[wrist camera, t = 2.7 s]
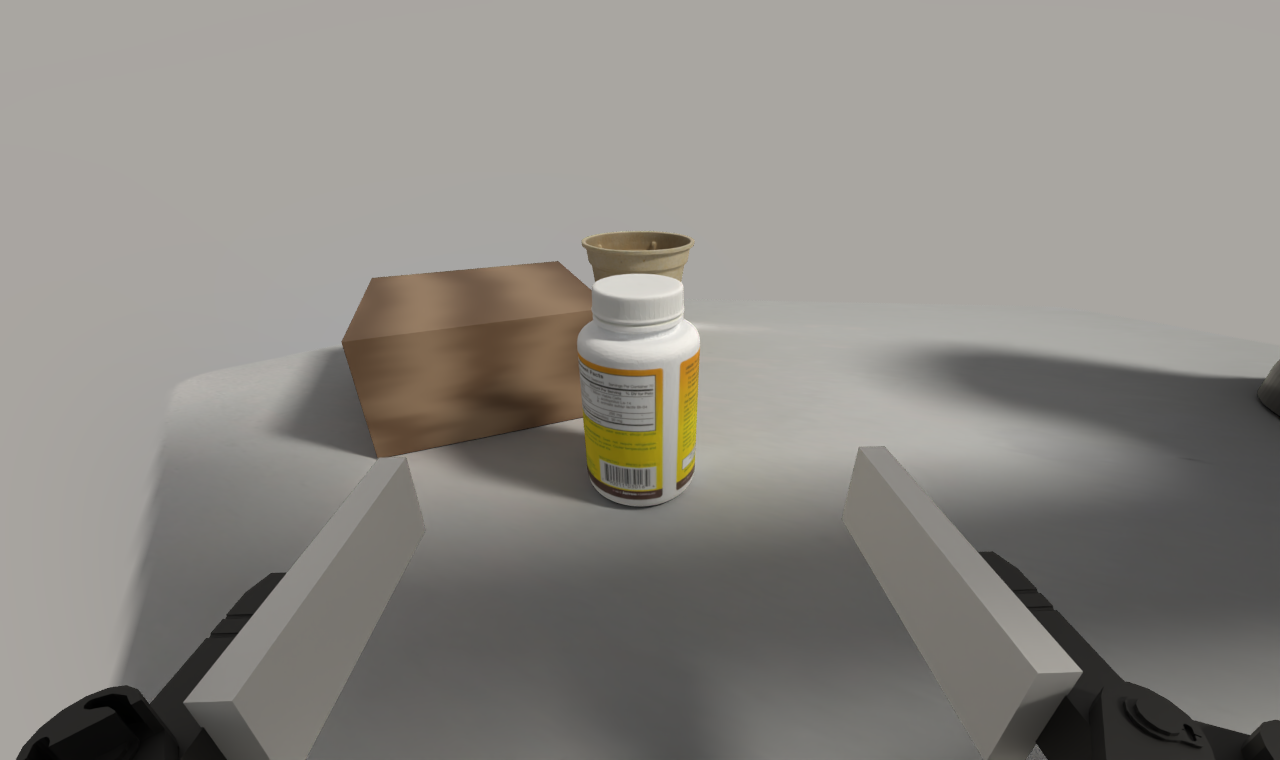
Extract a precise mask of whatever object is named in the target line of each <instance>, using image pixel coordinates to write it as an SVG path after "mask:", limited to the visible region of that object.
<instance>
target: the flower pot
mask: <svg viewBox="0 0 1280 760" xmlns="http://www.w3.org/2000/svg"><path fill="white" fill-rule="evenodd" d="M582 246H583V247H584V248H586V250H587V254H588V260H589V262H590V264H591V265H592V267H593V272H594V278H595V282H596V281H598V280H600V279H603V278H606V277H610V276H615V275H623V274H655V275H662V276H667V277H671V278H674V279H677V280H678V281H680V282H681V279H682V274H683V268H684V265H685V264H686V262H687V260H688V254H689V249H690V248H692V247H693V246H694V239H692V238H691V237H688V236H685V235H680V234H675V233H666V232H655V231H625V232H611V233H602V234H596V235H592V236H589V237H586V238H584V239H583V240H582Z"/></svg>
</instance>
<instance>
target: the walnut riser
mask: <svg viewBox="0 0 1280 760" xmlns="http://www.w3.org/2000/svg"><path fill="white" fill-rule="evenodd" d="M591 308H592V290H591V289H589V288H588V287H587V286H586V285H585V284H583V283H582V282H581V281H580V280H579V279H578V278H577V277H576V276H574V275H573V274H572V273H571V272H570V271H569V270H567V269H566V268H565V267H564V266H563V265H562V264H561V263H560V262H558V261H556V262H544V263H533V264H522V265H511V266H500V267H489V268H478V269H468V270H456V271H445V272H434V273H423V274H412V275H401V276H389V277H378V278H372V279H371V281H370V283H369V286H368V288H367V290H366V292H365V294H364V296H363V298H362V300H361V302H360V305H359V306H358V308H357V311H356V313H355V315H354V317H353V319H352V321H351V323H350V325H349V328H348V330H347V331H346V334H345V336H344V338H343V340H342V345H343V349H344V352H345V355H346V358H347V361H348V365H349V368H350V371H351V374H352V377H353V381H354V384H355V387H356V390H357V393H358V397H359V400H360V403H361V406H362V409H363V413H364V416H365V419H366V422H367V425H368V429H369V432H370V435H371V438H372V441H373V445H374V448H375V451H376V454H377V457H378V458H385V457H390V456H395V455H400V454H405V453H410V452H414V451H419V450H424V449H429V448H434V447H439V446H444V445H449V444H454V443H459V442H463V441H468V440H473V439H478V438H483V437H488V436H493V435H498V434H503V433H507V432H512V431H517V430H522V429H527V428H532V427H537V426H542V425H547V424H551V423H556V422H561V421H566V420H571V419H576V418H581V417H583V409H582V396H581V384H580V373H579V361H578V351H577V339H578V335H579V333H580V331H581V330H582V328H583V327H584V326H585V325H587V324H588V323H589V322H591V321H593V313H592V310H591Z"/></svg>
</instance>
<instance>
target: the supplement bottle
mask: <svg viewBox="0 0 1280 760" xmlns="http://www.w3.org/2000/svg"><path fill="white" fill-rule="evenodd" d="M591 310H592V313H593V321H591V322H589V323H588V324H587V325H585V326H584V327H583V328H582V330H581V331H580V333H579V335H578V339H577V351H578V361H579V373H580V384H581V396H582V409H583V421H584V431H585V444H586V457H587V469H588V474H589V478H590V481H591V483H592V484H593V486H594V487H595V489H596V490H597V491H598V492H599V493H600V494H602V495H603V496H604V497H606V498H608V499H610V500H612V501H614V502H617V503H620V504H624V505H629V506H652V505H657V504H661V503H664V502H667V501H669V500H671V499H673V498H675V497H677V496H678V495H680V494H681V493H682V492H683V491H684V490H685V489H686V488H687V487H688V485H689V484H690V482H691V480H692V478H693V475H694V469H695V450H696V448H695V446H696V422H697V397H698V375H699V355H700V337H699V333H698V331H697V329H696V328H695V327H694V326H693V325H692V324H691V323H690V322H689V321H687V320H685V319H683V312H684V305H683V284H682V283H681V282H680V281H678V280H677V279H674V278H671V277H667V276H662V275H655V274H623V275H615V276H610V277H606V278H603V279H600V280H598V281H596V282H595V283H594V284H593V285H592V308H591Z"/></svg>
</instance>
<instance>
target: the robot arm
mask: <svg viewBox="0 0 1280 760" xmlns="http://www.w3.org/2000/svg"><path fill="white" fill-rule="evenodd" d="M1258 397H1259V399H1260V400H1261V401H1262V402H1263V404H1264V405H1266V406H1267V407H1268V408H1269V409H1270V410H1272V411H1273V412H1275V413H1276V414H1278V415H1279V416H1280V360H1279V361H1278V362H1277V363H1276V364H1275V365H1274V366H1273V368H1272V369H1271V371H1270V373H1269V374H1268V376H1267V377H1266V379H1265V380H1264V382H1263V383H1262V385H1261V386H1260V388H1259V389H1258ZM842 521H843V522H844V524H845V526H846V527H847V529H848V531H849V532H850V534H851V536H852V538H853V539H854V541H855V543H856V544H857V546H858V548H859V549H860V551H861V553H862V554H863V556H864V558H865V560H866V561H867V563H868V565H869V566H870V568H871V570H872V571H873V573H874V575H875V577H876V578H877V580H878V582H879V583H880V585H881V587H882V588H883V590H884V592H885V594H886V595H887V597H888V599H889V600H890V602H891V604H892V605H893V607H894V609H895V610H896V612H897V614H898V616H899V617H900V619H901V621H902V622H903V624H904V626H905V627H906V629H907V631H908V633H909V634H910V636H911V638H912V639H913V641H914V643H915V644H916V646H917V648H918V649H919V651H920V653H921V655H922V656H923V658H924V660H925V661H926V663H927V665H928V666H929V668H930V670H931V672H932V673H933V675H934V677H935V678H936V680H937V682H938V683H939V685H940V687H941V688H942V690H943V692H944V694H945V695H946V697H947V699H948V700H949V702H950V704H951V705H952V707H953V709H954V711H955V712H956V714H957V716H958V717H959V719H960V721H961V722H962V724H963V726H964V727H965V729H966V731H967V733H968V734H969V736H970V738H971V739H972V741H973V743H974V744H975V746H976V748H977V750H978V751H979V753H980V755H981V756H982V758H983V760H1026V758H1027V757H1028V755H1029V754H1030V752H1031V751H1032V749H1033V748H1034V746H1035V745H1036V743H1037V745H1038V746H1039V748H1040V749H1041V751H1042V752H1043V754H1044V755H1045V756H1046V758H1047V759H1048V760H1280V721H1279V720H1272V721H1268V722H1263V723H1262V724H1261V725H1260V726H1259V727H1258V728H1257V729H1256V730H1255V731H1254V732H1253V733H1252V734H1251V735H1247V734H1243V733H1239V732H1236V731H1232V730H1228V729H1224V728H1220V727H1217V726H1213V725H1209V724H1205V723H1201V722H1198V721H1194V720H1192V719H1191V718H1190V717H1189V716H1188V715H1187V714H1186V713H1184V712H1183V711H1182V710H1181V709H1179V708H1178V707H1177V706H1175V705H1174V704H1173V703H1172V702H1170V701H1169V700H1167V699H1166V698H1164V697H1162V696H1160V695H1158V694H1157V693H1155V692H1153V691H1151V690H1150V689H1147V688H1144V687H1142V686H1139V685H1136V684H1133V683H1130V682H1125V681H1124V680H1123V679H1122V678H1121V677H1119V676H1118V675H1117V674H1116V673H1115V671H1114V670H1113V669H1112V668H1111V667H1110V666H1109V665H1108V664H1107V663H1106V662H1105V661H1104V660H1103V659H1102V658H1101V657H1100V656H1099V654H1098V653H1097V652H1096V651H1095V650H1094V649H1093V648H1092V647H1091V646H1090V645H1089V644H1088V643H1087V642H1086V641H1085V640H1084V639H1083V637H1082V636H1081V635H1080V634H1079V633H1078V632H1077V631H1076V630H1075V629H1074V628H1073V627H1072V626H1071V625H1070V624H1069V623H1068V622H1067V620H1066V619H1065V618H1064V617H1063V616H1062V615H1061V614H1060V613H1059V612H1058V611H1057V610H1054V609H1053V606H1052V605H1051V603H1050V602H1049V601H1048V600H1047V599H1046V598H1045V597H1044V596H1043V595H1042V594H1041V593H1038V592H1037V589H1036V588H1035V586H1034V585H1033V584H1032V583H1031V582H1030V581H1029V580H1028V579H1027V578H1026V577H1025V576H1024V575H1023V574H1022V573H1021V572H1020V571H1019V569H1017V568H1016V567H1014V566H1013V565H1012V564H1010V563H1009V562H1007V561H1006V560H1004V559H1003V558H1001V557H1000V556H999V555H997V554H996V553H994V552H977V551H976V550H975V548H974V547H973V546H972V545H971V544H970V543H969V542H968V541H967V539H966V538H965V537H964V536H963V535H962V534H961V533H960V531H959V530H958V529H957V528H956V527H955V526H954V525H953V524H952V522H951V521H950V520H949V519H948V518H947V517H946V516H945V514H944V513H943V512H942V511H941V510H940V509H939V508H938V506H937V505H936V504H935V503H934V502H933V501H932V500H931V499H930V497H929V496H928V495H927V494H926V493H925V492H924V491H923V489H922V488H921V487H920V486H919V485H918V484H917V483H916V481H915V480H914V479H913V478H912V477H911V476H910V475H909V474H908V472H907V471H906V470H905V469H904V468H903V467H902V466H901V464H900V463H899V462H898V461H897V460H896V459H895V458H894V456H893V455H892V454H891V453H890V452H889V451H888V450H887V449H886V447H885V446H878V447H859V448H858V452H857V457H856V461H855V465H854V469H853V474H852V478H851V482H850V486H849V490H848V495H847V499H846V503H845V507H844V511H843V516H842ZM425 531H426V528H425V524H424V521H423V517H422V513H421V510H420V506H419V502H418V499H417V495H416V491H415V488H414V484H413V480H412V477H411V473H410V469H409V466H408V462H407V458H406V457H385V458H378V460H377V461H376V462H375V463H374V465H373V466H372V467H371V468H370V470H369V471H368V472H367V473H366V475H365V476H364V477H363V478H362V480H361V481H360V482H359V483H358V485H357V486H356V487H355V488H354V490H353V491H352V492H351V493H350V495H349V496H348V497H347V498H346V500H345V501H344V502H343V503H342V505H341V506H340V507H339V508H338V510H337V511H336V512H335V513H334V515H333V516H332V517H331V518H330V520H329V521H328V522H327V523H326V525H325V526H324V527H323V528H322V530H321V531H320V532H319V533H318V535H317V536H316V537H315V538H314V540H313V541H312V542H311V543H310V545H309V546H308V547H307V548H306V550H305V551H304V552H303V553H302V555H301V556H300V557H299V558H298V560H297V561H296V562H295V563H294V565H293V566H292V567H291V568H290V570H289V571H288V572H287V573H271V574H269V575H268V576H267V577H265V578H264V579H263V580H261V581H260V582H259V583H258V584H256V585H255V586H254V587H252V588H251V589H250V590H248V591H247V592H246V593H245V594H244V595H243V596H242V597H241V598H240V600H239V601H238V602H237V603H236V604H235V605H234V607H233V608H232V609H231V610H230V611H229V612H228V614H227V617H226V619H222V621H221V622H220V623H219V624H218V625H217V626H216V628H215V629H214V630H213V631H212V632H211V636H210V638H206V639H205V640H204V642H203V643H202V644H201V645H200V646H199V647H198V649H197V650H196V651H195V652H194V653H193V654H192V656H191V657H190V658H189V659H188V660H187V661H186V663H185V664H184V665H183V666H182V667H181V668H180V670H179V671H178V672H177V673H176V674H175V675H174V677H173V678H172V679H171V680H170V681H169V682H168V684H167V685H166V686H165V687H164V688H163V689H162V691H161V692H160V693H159V694H158V695H157V696H156V698H155V699H154V700H153V701H152V702H151V703H150V704H149V703H148V702H147V701H146V699H145V698H144V697H143V695H142V694H141V693H140V692H139V690H138V689H135V688H132V687H129V686H127V685H126V686H118V687H111V688H107V689H104V690H101V691H99V692H96V693H94V694H91V695H89V696H86V697H84V698H83V699H81V700H79V701H78V702H76V703H74V704H72V705H70V706H69V707H67V708H65V709H64V710H62V711H61V712H59V713H58V714H57V715H56V716H54V717H53V718H52V719H51V720H50V721H48V722H47V723H46V724H44V725H43V726H42V727H41V728H39V729H38V731H37V732H36V733H35V734H34V735H33V736H32V737H31V739H29V741H28V742H27V743H26V744H25V745H24V746H23V747H22V749H21V751H20V753H19V755H18V757H17V759H16V760H306V758H307V756H308V754H309V752H310V751H311V749H312V747H313V745H314V743H315V741H316V739H317V737H318V735H319V733H320V731H321V730H322V728H323V726H324V724H325V722H326V720H327V718H328V716H329V714H330V712H331V710H332V709H333V707H334V705H335V703H336V701H337V699H338V697H339V695H340V693H341V691H342V689H343V688H344V686H345V684H346V682H347V680H348V678H349V676H350V674H351V672H352V670H353V668H354V667H355V665H356V663H357V661H358V659H359V657H360V655H361V653H362V651H363V649H364V647H365V646H366V644H367V642H368V640H369V638H370V636H371V634H372V632H373V630H374V628H375V626H376V625H377V623H378V621H379V619H380V617H381V615H382V613H383V611H384V609H385V607H386V605H387V604H388V602H389V600H390V598H391V596H392V594H393V592H394V590H395V588H396V586H397V584H398V583H399V581H400V579H401V577H402V575H403V573H404V571H405V569H406V567H407V565H408V563H409V562H410V560H411V558H412V556H413V554H414V552H415V550H416V548H417V546H418V544H419V542H420V541H421V539H422V537H423V535H424V533H425Z"/></svg>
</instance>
